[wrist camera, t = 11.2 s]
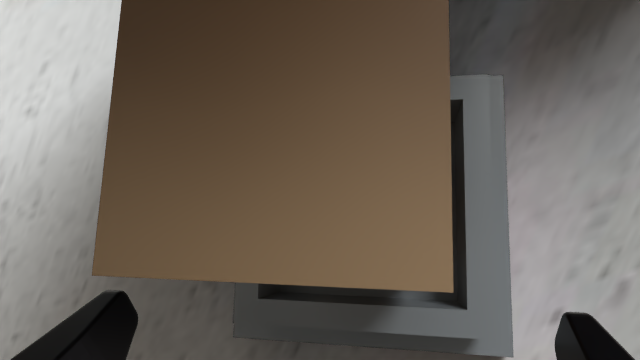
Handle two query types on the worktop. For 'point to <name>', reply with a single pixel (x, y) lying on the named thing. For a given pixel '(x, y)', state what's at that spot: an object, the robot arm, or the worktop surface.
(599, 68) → the worktop surface
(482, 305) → the socket
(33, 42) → the worktop surface
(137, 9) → the peg
